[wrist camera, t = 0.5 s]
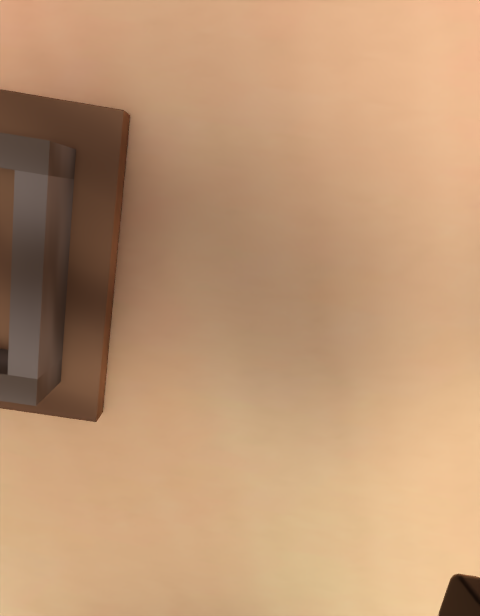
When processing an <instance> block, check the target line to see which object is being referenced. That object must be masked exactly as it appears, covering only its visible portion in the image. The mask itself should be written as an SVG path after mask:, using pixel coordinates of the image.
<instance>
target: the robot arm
mask: <svg viewBox="0 0 480 616" xmlns="http://www.w3.org/2000/svg"><path fill="white" fill-rule="evenodd" d="M439 616H480V578H479V577H476V576H470V575H463V574H455V575H454V576H453V577H452V578H451V579H450V582H449V585H448V588H447V590H446V593H445V596H444V599H443V602H442V605H441V608H440V611H439Z"/></svg>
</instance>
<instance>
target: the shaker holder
mask: <svg viewBox="0 0 480 616" xmlns="http://www.w3.org/2000/svg"><path fill="white" fill-rule="evenodd" d="M129 119H130V115H129V114H128V113H126V112H125V111H124V110H119V109H113V108H107V107H101V106H95V105H89V104H83V103H77V102H72V101H66V100H60V99H54V98H48V97H42V96H36V95H30V94H24V93H18V92H12V91H6V90H0V408H3V409H10V410H17V411H24V412H31V413H38V414H44V415H51V416H58V417H65V418H72V419H79V420H86V421H93V422H96V421H97V420H98V418H99V417H100V415H101V414H102V412H103V403H104V392H105V381H106V370H107V359H108V348H109V337H110V326H111V315H112V304H113V294H114V283H115V272H116V261H117V250H118V239H119V228H120V217H121V206H122V195H123V185H124V174H125V163H126V152H127V141H128V130H129Z"/></svg>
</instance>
